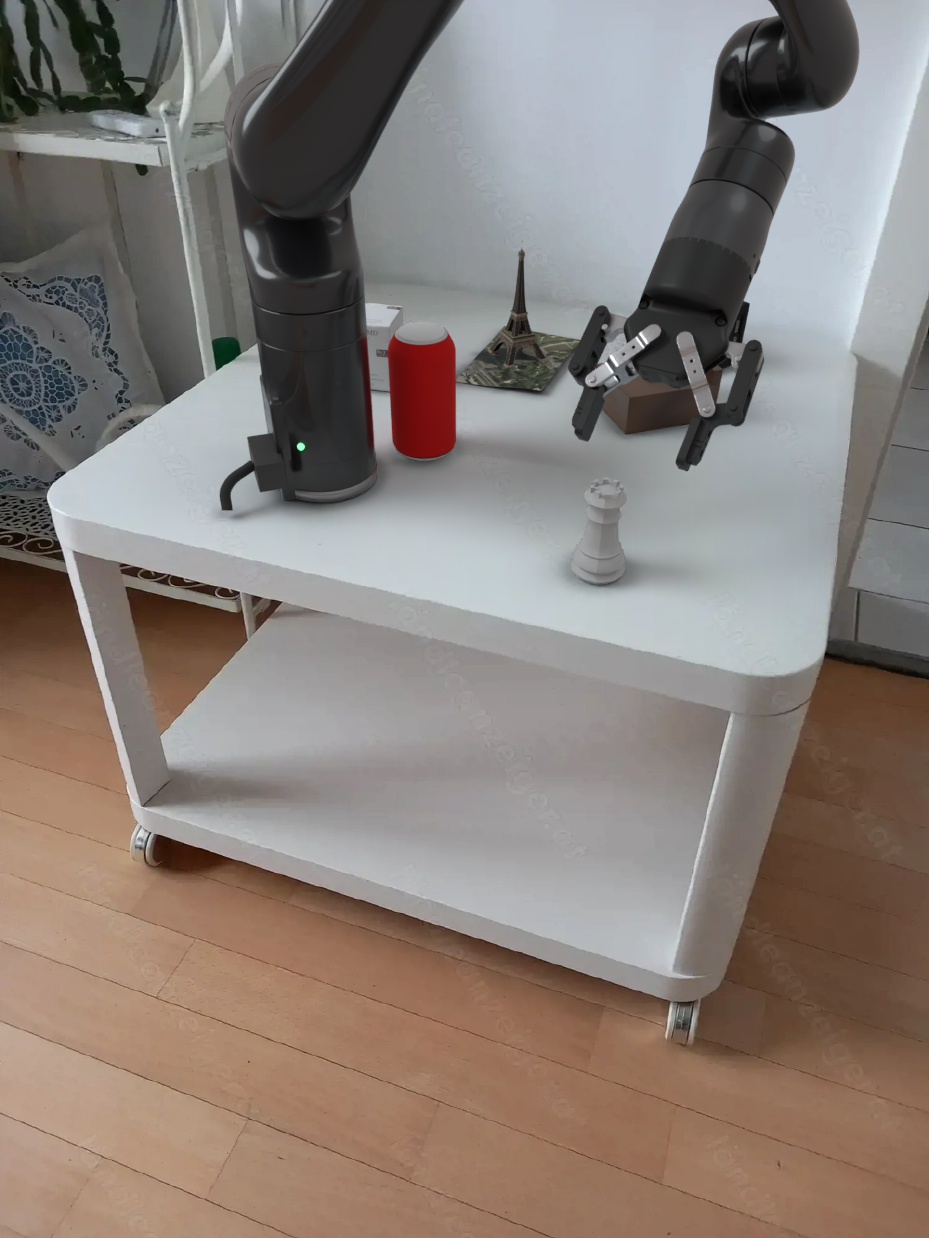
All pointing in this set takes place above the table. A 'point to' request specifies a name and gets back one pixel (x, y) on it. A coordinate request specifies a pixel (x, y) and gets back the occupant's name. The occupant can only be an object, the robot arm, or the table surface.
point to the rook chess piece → (601, 535)
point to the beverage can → (422, 391)
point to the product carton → (381, 340)
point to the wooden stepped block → (655, 403)
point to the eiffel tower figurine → (519, 351)
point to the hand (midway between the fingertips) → (630, 452)
